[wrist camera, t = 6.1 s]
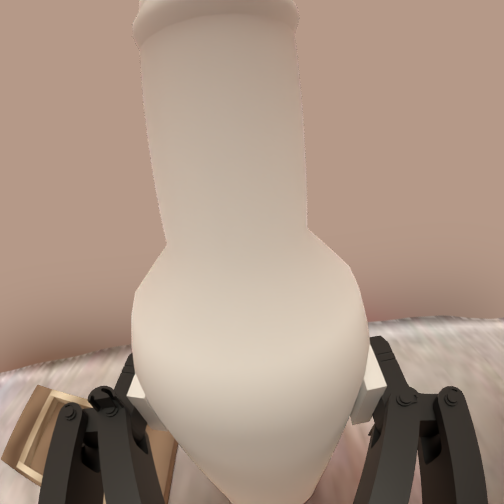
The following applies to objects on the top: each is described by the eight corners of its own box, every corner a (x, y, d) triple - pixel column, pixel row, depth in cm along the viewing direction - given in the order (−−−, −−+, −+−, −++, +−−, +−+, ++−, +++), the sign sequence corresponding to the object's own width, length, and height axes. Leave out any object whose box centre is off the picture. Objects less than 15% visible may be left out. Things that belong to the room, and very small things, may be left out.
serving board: (182, 419, 24) (176, 409, 23) (162, 535, 11) (153, 534, 10) (42, 390, 25) (33, 379, 24) (6, 463, 12) (-5, 455, 11)
